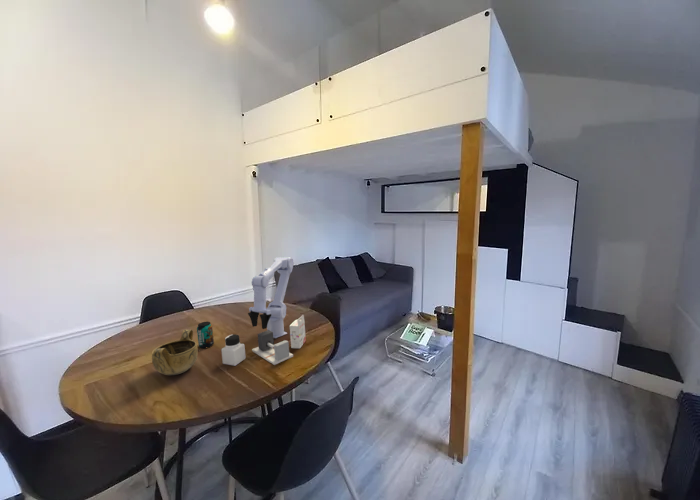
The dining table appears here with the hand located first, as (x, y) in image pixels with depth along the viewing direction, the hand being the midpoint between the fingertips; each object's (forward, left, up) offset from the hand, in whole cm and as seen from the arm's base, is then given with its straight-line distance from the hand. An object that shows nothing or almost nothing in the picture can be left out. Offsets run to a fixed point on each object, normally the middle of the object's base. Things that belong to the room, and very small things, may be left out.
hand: (259, 327), depth 142 cm
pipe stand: (+10, 0, -11) cm, 15 cm away
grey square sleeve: (+5, 0, -9) cm, 10 cm away
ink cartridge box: (+12, +14, -11) cm, 22 cm away
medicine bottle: (+2, -15, -11) cm, 19 cm away
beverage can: (-24, -17, -11) cm, 32 cm away
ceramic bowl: (-9, -35, -11) cm, 38 cm away
